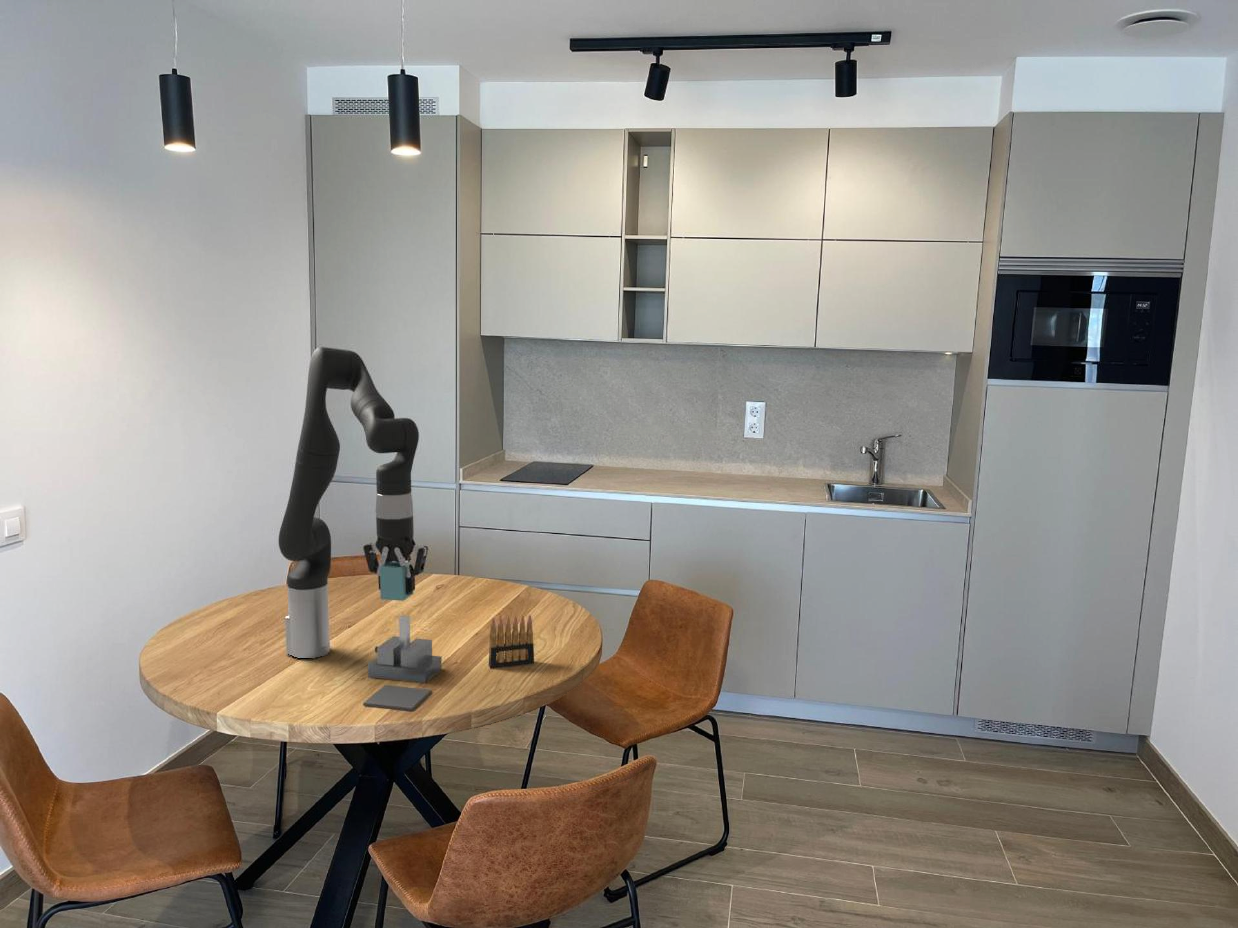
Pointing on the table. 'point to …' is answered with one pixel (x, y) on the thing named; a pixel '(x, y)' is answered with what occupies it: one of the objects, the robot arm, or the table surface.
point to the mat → (397, 697)
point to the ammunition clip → (511, 644)
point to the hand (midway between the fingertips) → (396, 592)
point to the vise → (405, 657)
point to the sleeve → (393, 582)
